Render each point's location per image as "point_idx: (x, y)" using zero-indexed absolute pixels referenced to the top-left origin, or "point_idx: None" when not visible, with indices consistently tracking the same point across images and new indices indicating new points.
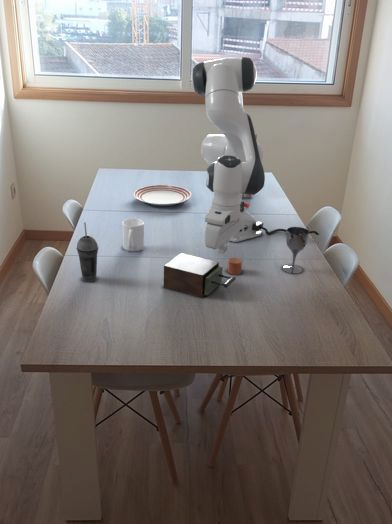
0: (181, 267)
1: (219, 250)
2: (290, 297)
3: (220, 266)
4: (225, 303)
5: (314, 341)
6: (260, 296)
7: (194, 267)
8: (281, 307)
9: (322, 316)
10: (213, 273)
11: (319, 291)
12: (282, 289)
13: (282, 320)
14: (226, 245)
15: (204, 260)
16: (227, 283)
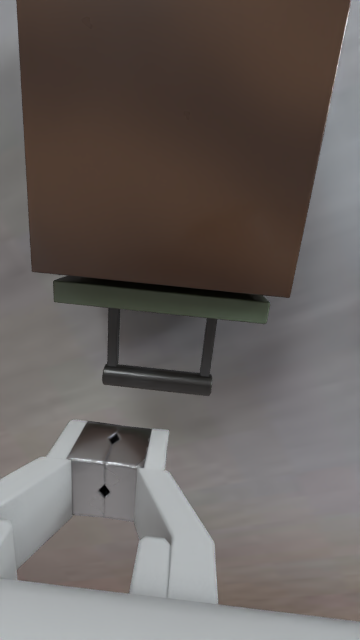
0: (62, 53)
1: (59, 447)
2: (244, 533)
3: (254, 313)
4: (93, 359)
5: None
6: (209, 453)
7: (117, 161)
8: None
9: None
10: (133, 307)
11: (323, 594)
12: (297, 504)
13: (81, 534)
14: (139, 536)
15: (276, 185)
16: (116, 384)
